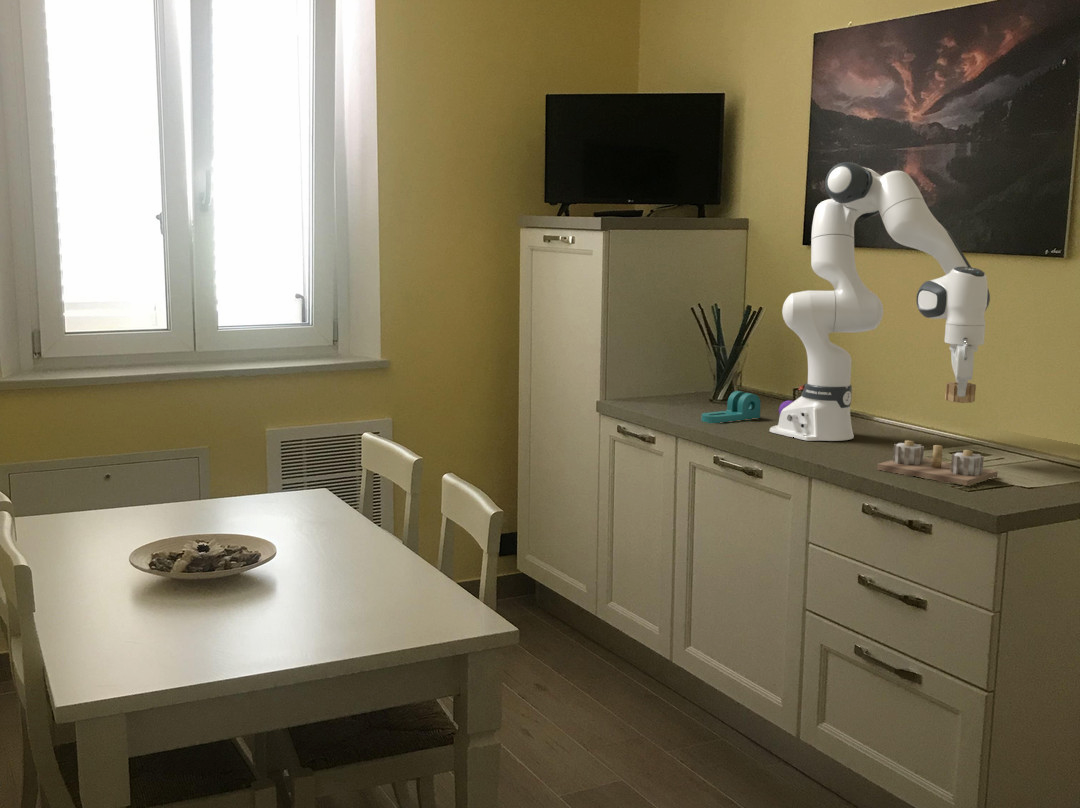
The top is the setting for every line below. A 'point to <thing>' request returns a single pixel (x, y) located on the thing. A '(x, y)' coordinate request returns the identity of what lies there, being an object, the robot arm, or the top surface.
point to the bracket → (736, 409)
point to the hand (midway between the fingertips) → (960, 393)
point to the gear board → (934, 472)
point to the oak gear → (953, 397)
